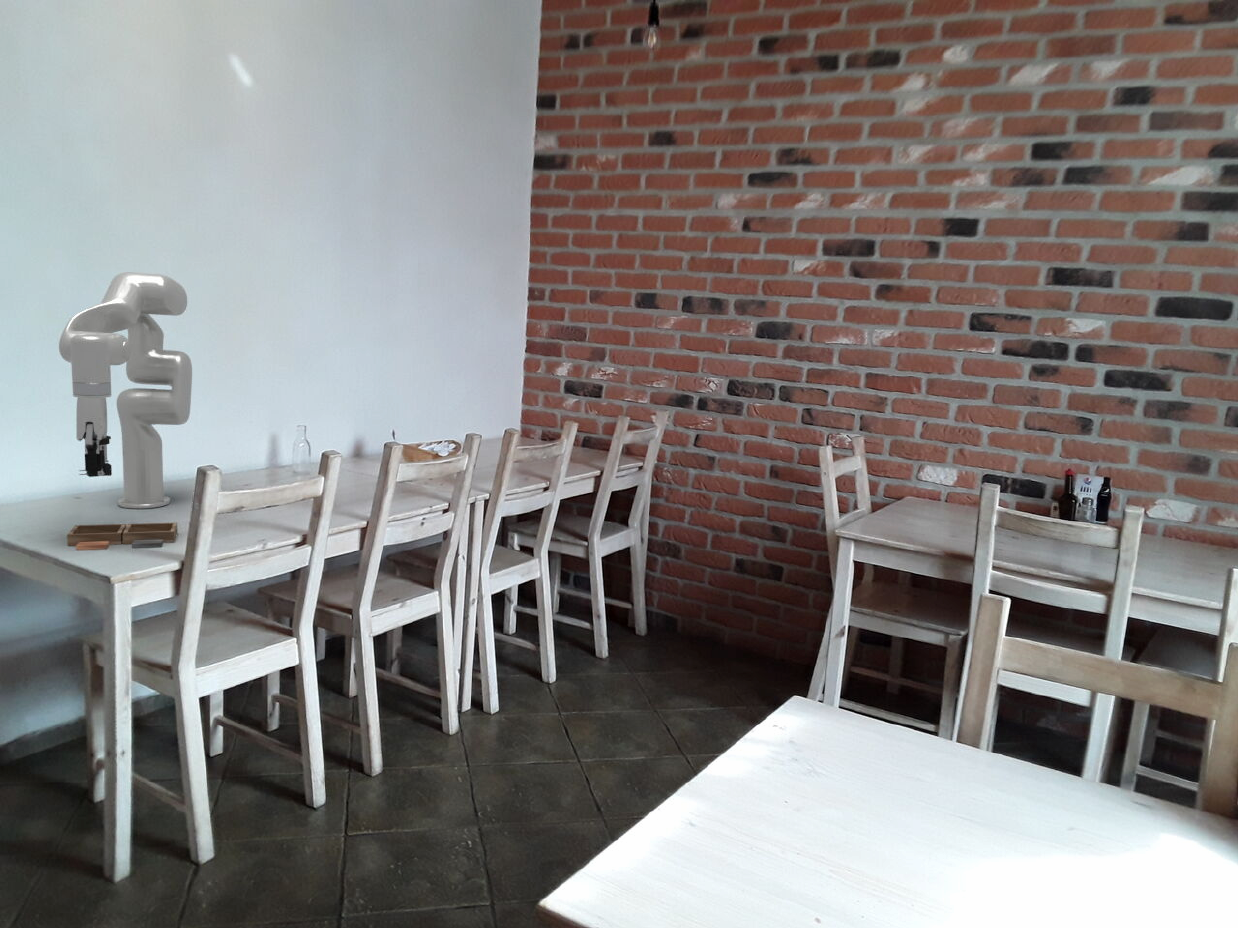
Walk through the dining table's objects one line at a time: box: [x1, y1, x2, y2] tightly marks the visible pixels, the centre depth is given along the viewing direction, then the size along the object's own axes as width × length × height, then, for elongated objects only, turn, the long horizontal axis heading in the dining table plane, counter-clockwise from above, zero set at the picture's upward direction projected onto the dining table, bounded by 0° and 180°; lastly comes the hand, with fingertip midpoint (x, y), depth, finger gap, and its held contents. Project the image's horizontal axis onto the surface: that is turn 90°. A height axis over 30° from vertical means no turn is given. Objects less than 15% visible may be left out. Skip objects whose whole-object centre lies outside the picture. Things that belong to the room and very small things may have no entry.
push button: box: [78, 432, 113, 478], centre depth 200 cm, size 7×5×10 cm
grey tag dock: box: [122, 522, 178, 549], centre depth 206 cm, size 12×11×3 cm
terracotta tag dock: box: [66, 523, 127, 551], centre depth 202 cm, size 12×11×3 cm
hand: (95, 468), depth 201 cm, fingers closed on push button, 3 cm apart
